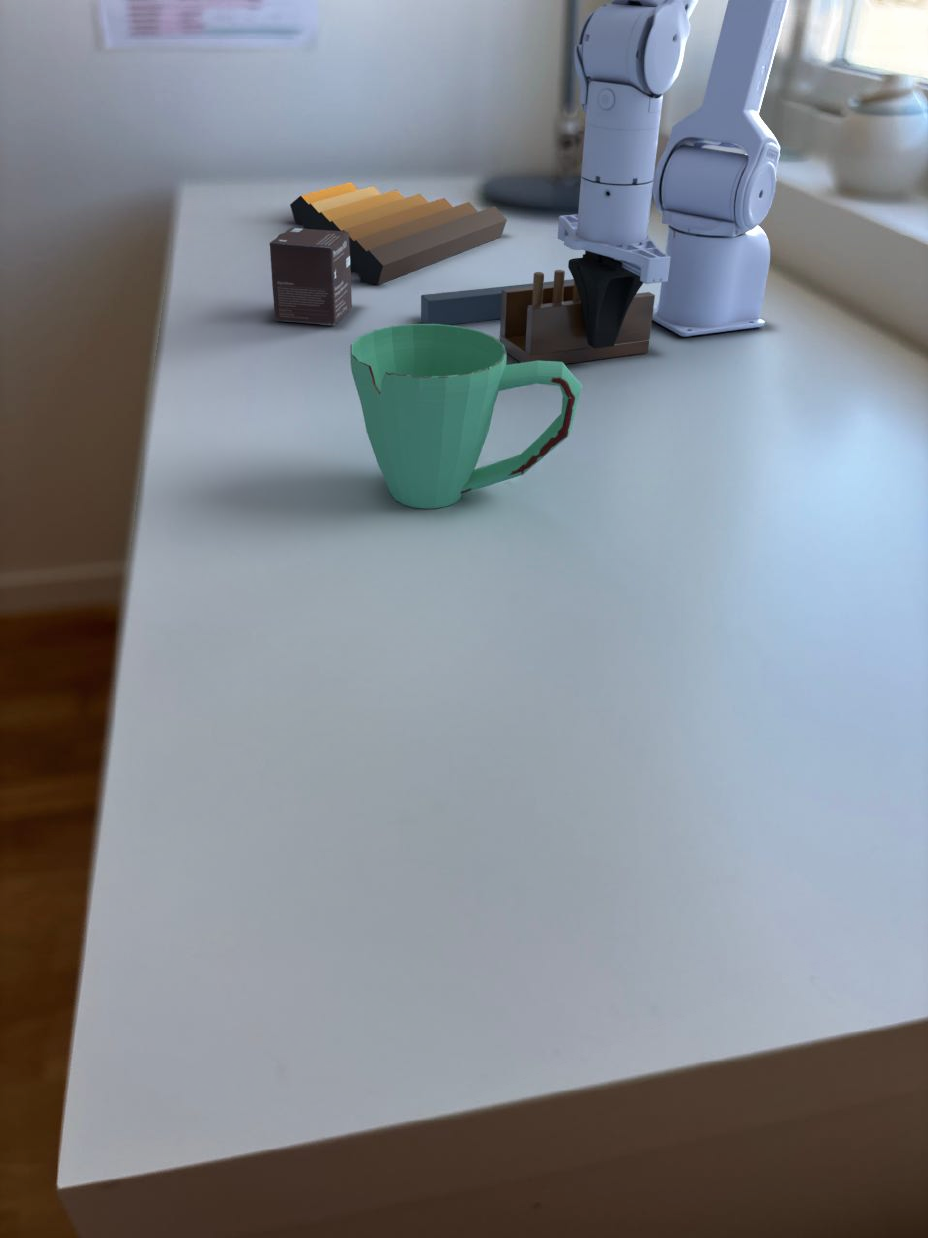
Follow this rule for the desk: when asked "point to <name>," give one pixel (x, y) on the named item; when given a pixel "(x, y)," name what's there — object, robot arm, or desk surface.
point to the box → (311, 276)
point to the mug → (445, 408)
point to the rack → (565, 324)
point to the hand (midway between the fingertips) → (601, 345)
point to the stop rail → (465, 305)
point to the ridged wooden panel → (396, 228)
